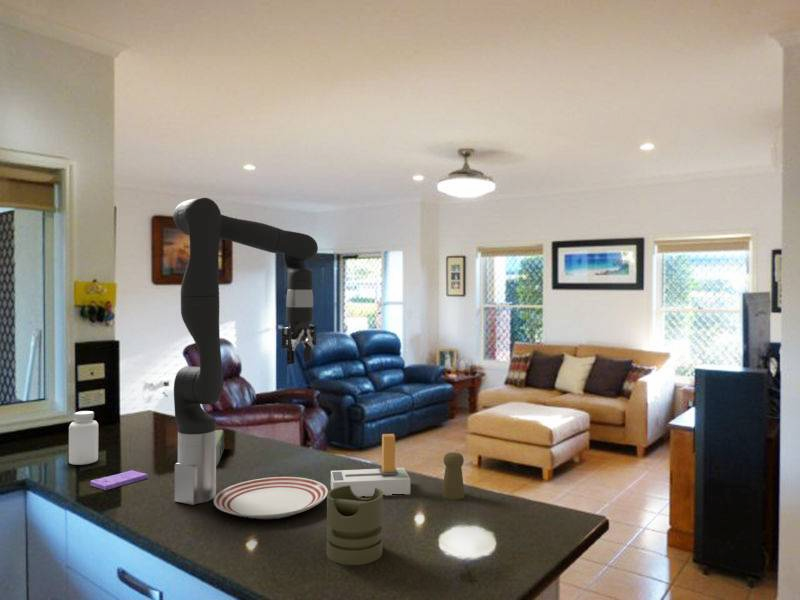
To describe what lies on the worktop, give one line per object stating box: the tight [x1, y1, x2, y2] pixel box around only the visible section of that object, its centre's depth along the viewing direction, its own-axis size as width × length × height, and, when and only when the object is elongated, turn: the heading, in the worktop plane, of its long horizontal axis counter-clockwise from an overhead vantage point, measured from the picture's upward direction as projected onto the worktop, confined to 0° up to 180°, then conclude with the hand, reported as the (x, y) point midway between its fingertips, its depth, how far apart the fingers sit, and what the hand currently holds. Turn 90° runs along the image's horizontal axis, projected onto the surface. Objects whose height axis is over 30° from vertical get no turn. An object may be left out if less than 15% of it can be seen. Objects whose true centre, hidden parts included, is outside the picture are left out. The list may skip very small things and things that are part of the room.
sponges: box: [89, 469, 149, 491], centre depth 168 cm, size 7×13×2 cm, turn 147°
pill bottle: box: [68, 410, 99, 466], centre depth 186 cm, size 8×8×15 cm
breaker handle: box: [378, 433, 398, 475], centre depth 164 cm, size 4×4×10 cm
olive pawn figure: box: [441, 452, 466, 501], centre depth 160 cm, size 6×6×11 cm
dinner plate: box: [213, 476, 329, 520], centre depth 151 cm, size 28×27×3 cm
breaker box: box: [330, 467, 411, 498], centre depth 163 cm, size 20×10×4 cm, turn 100°
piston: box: [326, 485, 384, 566], centre depth 125 cm, size 11×12×11 cm
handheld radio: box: [216, 429, 225, 467], centre depth 190 cm, size 7×3×25 cm
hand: (299, 362), depth 176 cm, fingers open, 8 cm apart
